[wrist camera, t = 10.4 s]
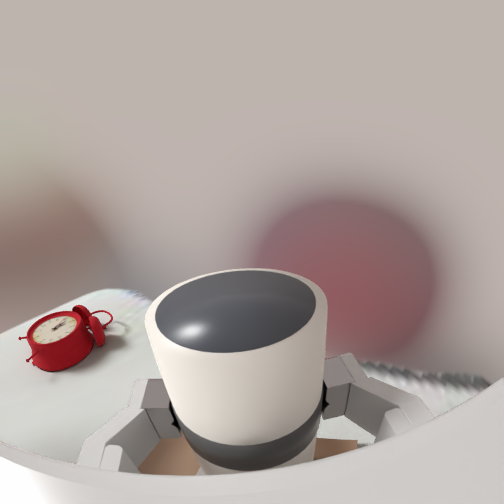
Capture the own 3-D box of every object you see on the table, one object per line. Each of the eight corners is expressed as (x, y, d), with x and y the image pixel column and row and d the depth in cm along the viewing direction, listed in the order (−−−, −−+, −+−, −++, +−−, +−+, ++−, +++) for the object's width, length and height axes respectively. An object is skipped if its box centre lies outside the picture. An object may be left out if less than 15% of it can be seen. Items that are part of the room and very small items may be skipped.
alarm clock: (13, 331, 30) (83, 278, 39) (36, 361, 33) (100, 309, 42) (24, 364, 24) (109, 296, 33) (53, 396, 27) (129, 331, 36)
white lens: (188, 485, 10) (107, 322, 7) (242, 424, 14) (215, 260, 11) (282, 529, 8) (277, 392, 4) (327, 451, 12) (349, 276, 9)
